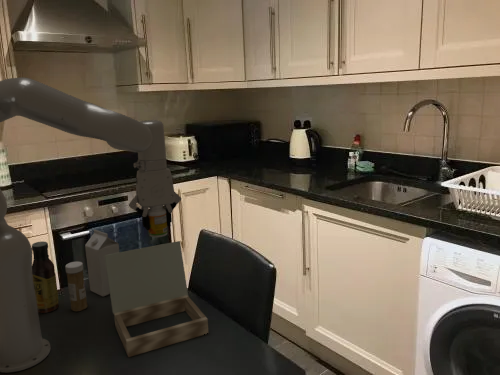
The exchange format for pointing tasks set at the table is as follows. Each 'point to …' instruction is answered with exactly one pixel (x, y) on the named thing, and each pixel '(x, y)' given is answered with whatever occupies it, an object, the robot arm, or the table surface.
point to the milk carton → (99, 261)
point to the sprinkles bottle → (76, 286)
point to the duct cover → (145, 276)
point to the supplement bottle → (157, 221)
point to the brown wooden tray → (164, 335)
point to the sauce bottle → (44, 278)
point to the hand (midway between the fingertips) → (157, 226)
